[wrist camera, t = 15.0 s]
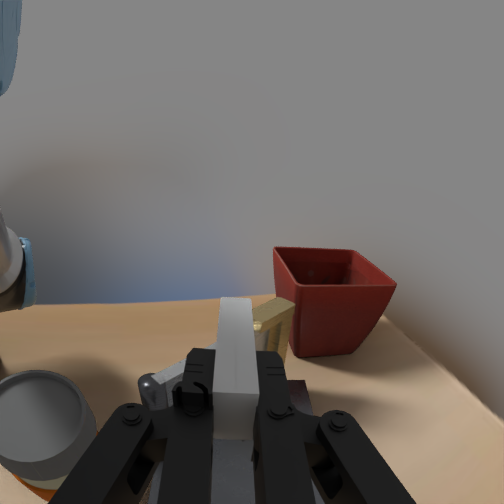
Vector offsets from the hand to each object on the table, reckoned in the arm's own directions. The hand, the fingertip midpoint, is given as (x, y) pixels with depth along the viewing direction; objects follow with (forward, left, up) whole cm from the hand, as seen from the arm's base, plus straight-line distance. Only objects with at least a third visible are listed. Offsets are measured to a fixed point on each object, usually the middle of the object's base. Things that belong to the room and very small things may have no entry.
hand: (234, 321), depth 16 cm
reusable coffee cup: (-9, -16, -28) cm, 33 cm away
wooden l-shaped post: (-16, +14, -28) cm, 35 cm away
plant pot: (-25, +34, -28) cm, 51 cm away
